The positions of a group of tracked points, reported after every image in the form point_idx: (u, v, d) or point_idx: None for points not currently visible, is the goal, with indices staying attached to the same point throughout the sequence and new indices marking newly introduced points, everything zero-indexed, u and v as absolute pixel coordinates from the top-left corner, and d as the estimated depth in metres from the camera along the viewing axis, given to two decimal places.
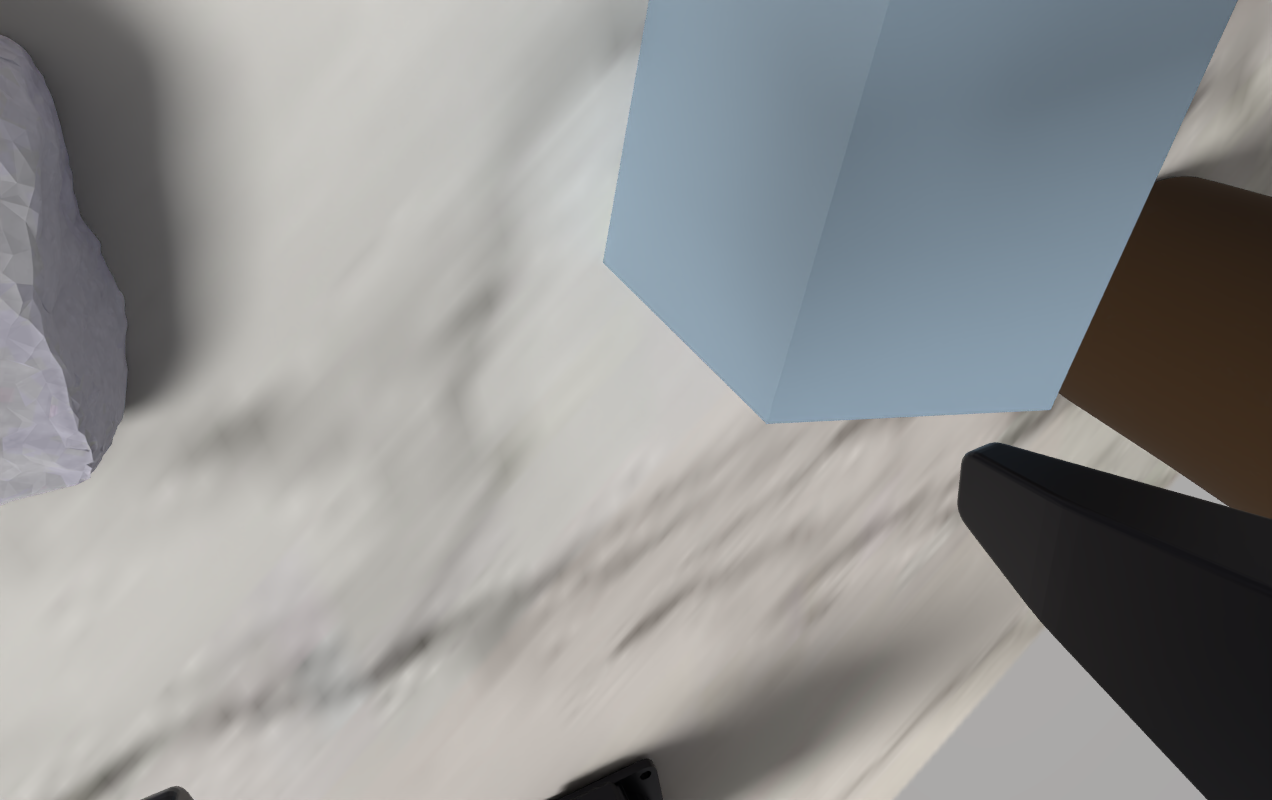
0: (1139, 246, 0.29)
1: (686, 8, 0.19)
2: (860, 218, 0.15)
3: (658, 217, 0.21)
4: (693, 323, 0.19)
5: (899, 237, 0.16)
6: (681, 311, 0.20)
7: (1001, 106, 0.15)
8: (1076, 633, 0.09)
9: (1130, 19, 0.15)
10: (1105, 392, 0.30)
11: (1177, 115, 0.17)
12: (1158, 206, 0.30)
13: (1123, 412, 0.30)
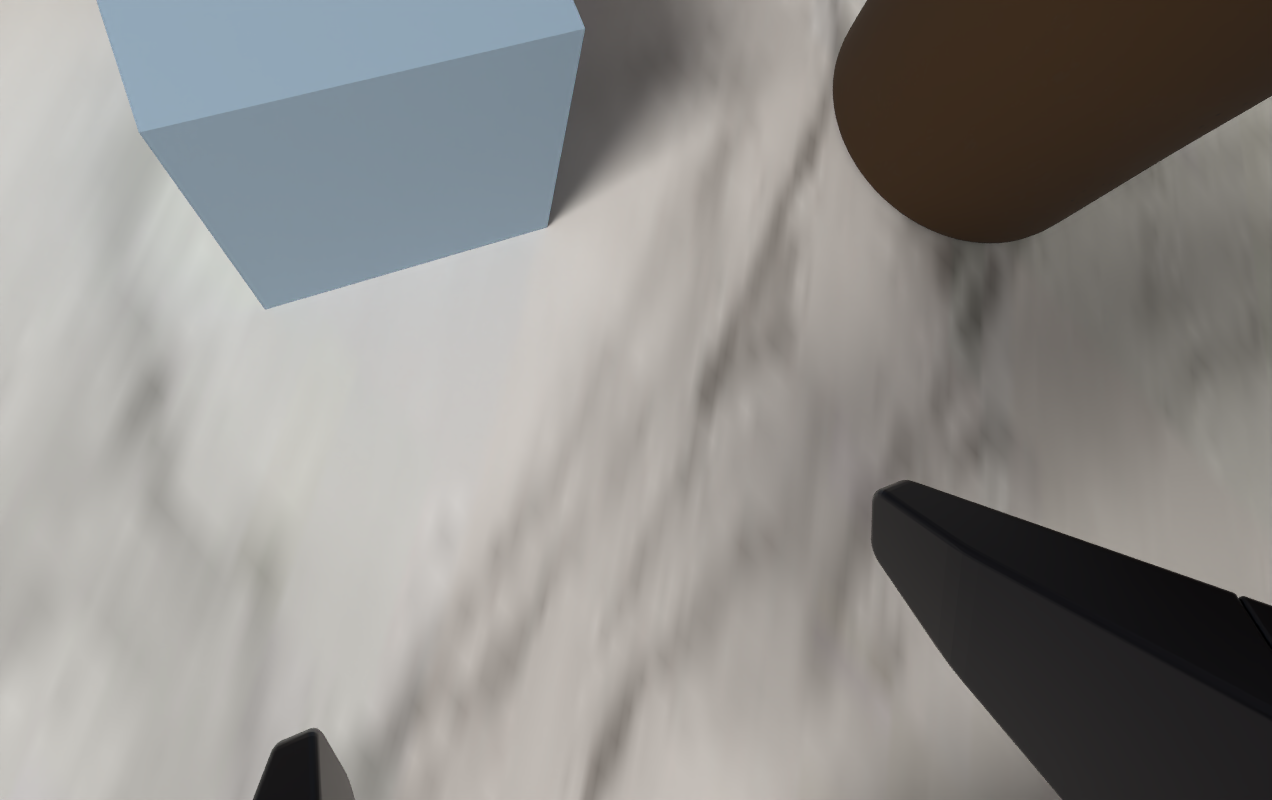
0: (857, 35, 0.26)
1: None
2: None
3: None
4: None
5: None
6: None
7: None
8: (982, 680, 0.09)
9: None
10: (947, 160, 0.24)
11: None
12: None
13: (977, 156, 0.23)
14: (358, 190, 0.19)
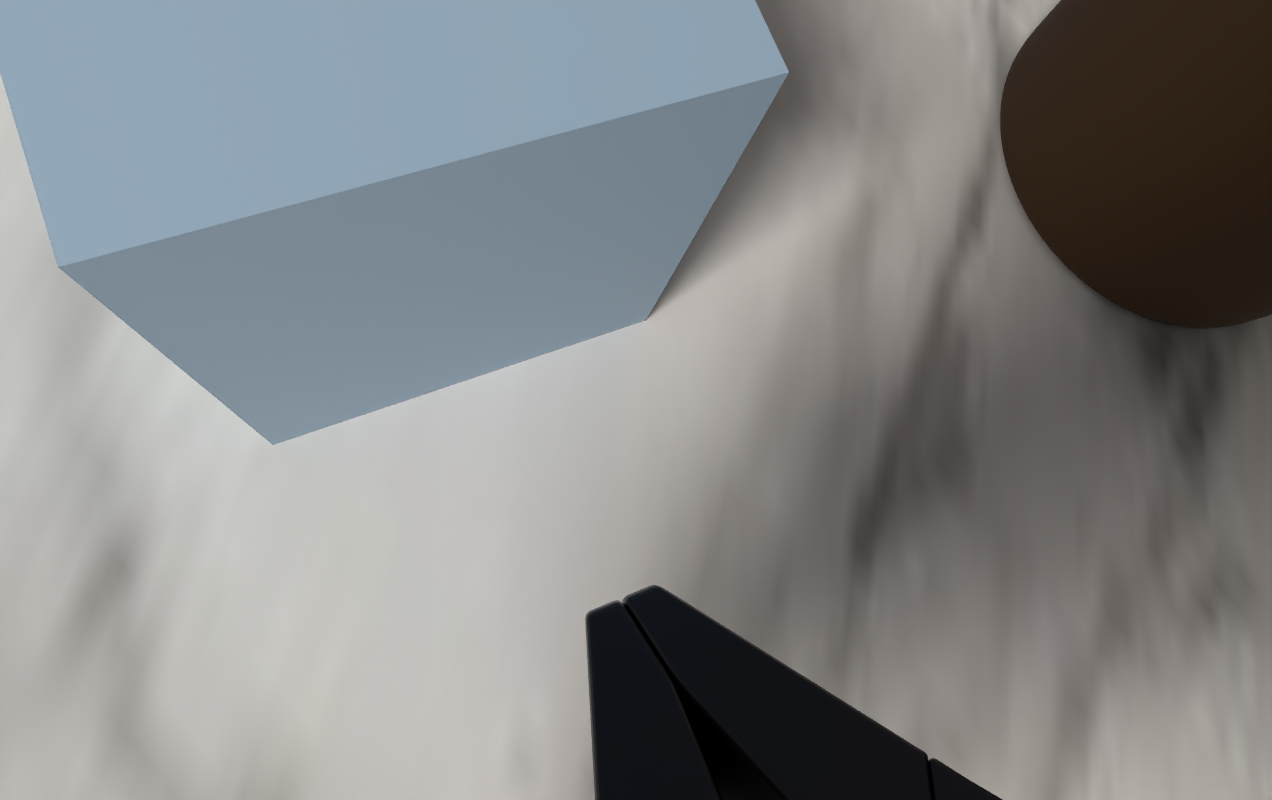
0: (1047, 63, 0.20)
1: None
2: None
3: None
4: None
5: None
6: None
7: None
8: None
9: None
10: (1192, 231, 0.18)
11: None
12: (1042, 26, 0.21)
13: (1243, 229, 0.17)
14: (413, 307, 0.13)
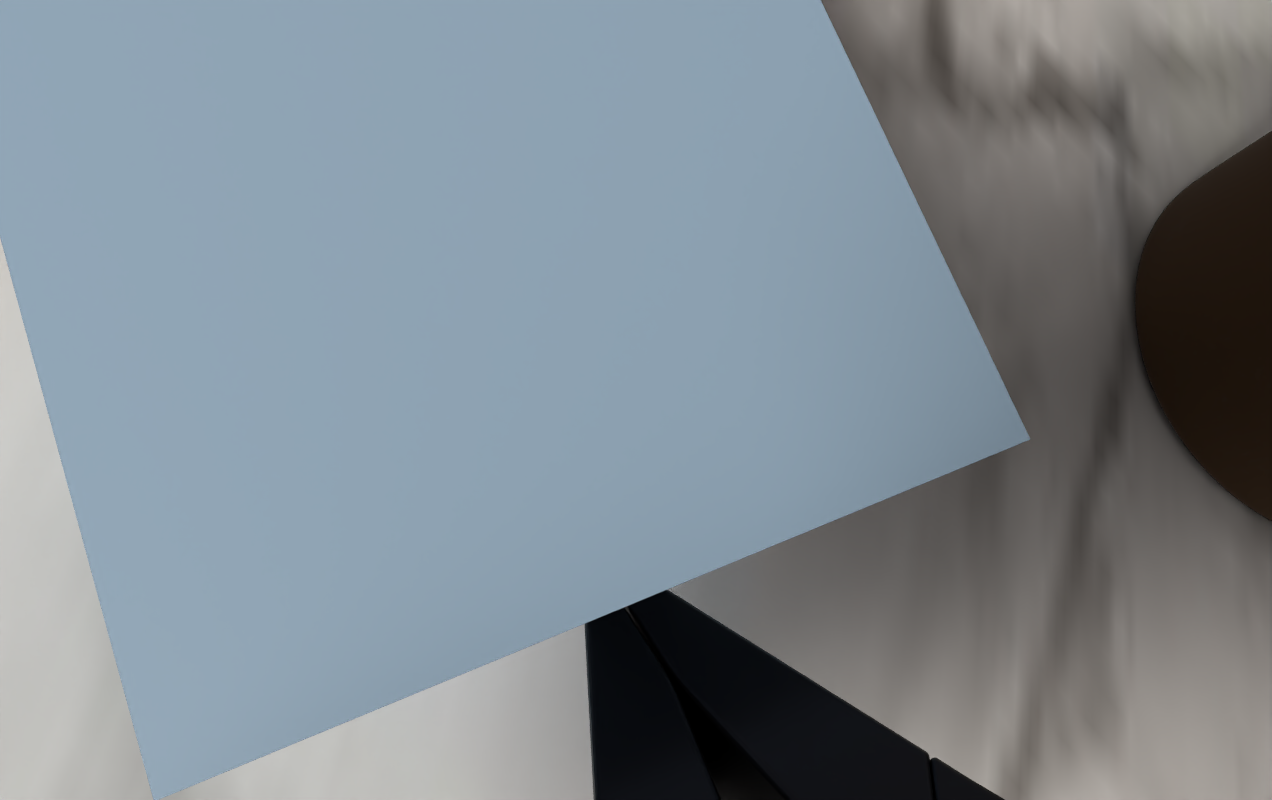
0: (1201, 267, 0.18)
1: None
2: (111, 263, 0.07)
3: None
4: None
5: (247, 261, 0.07)
6: None
7: None
8: None
9: None
10: None
11: None
12: (1186, 215, 0.19)
13: None
14: None
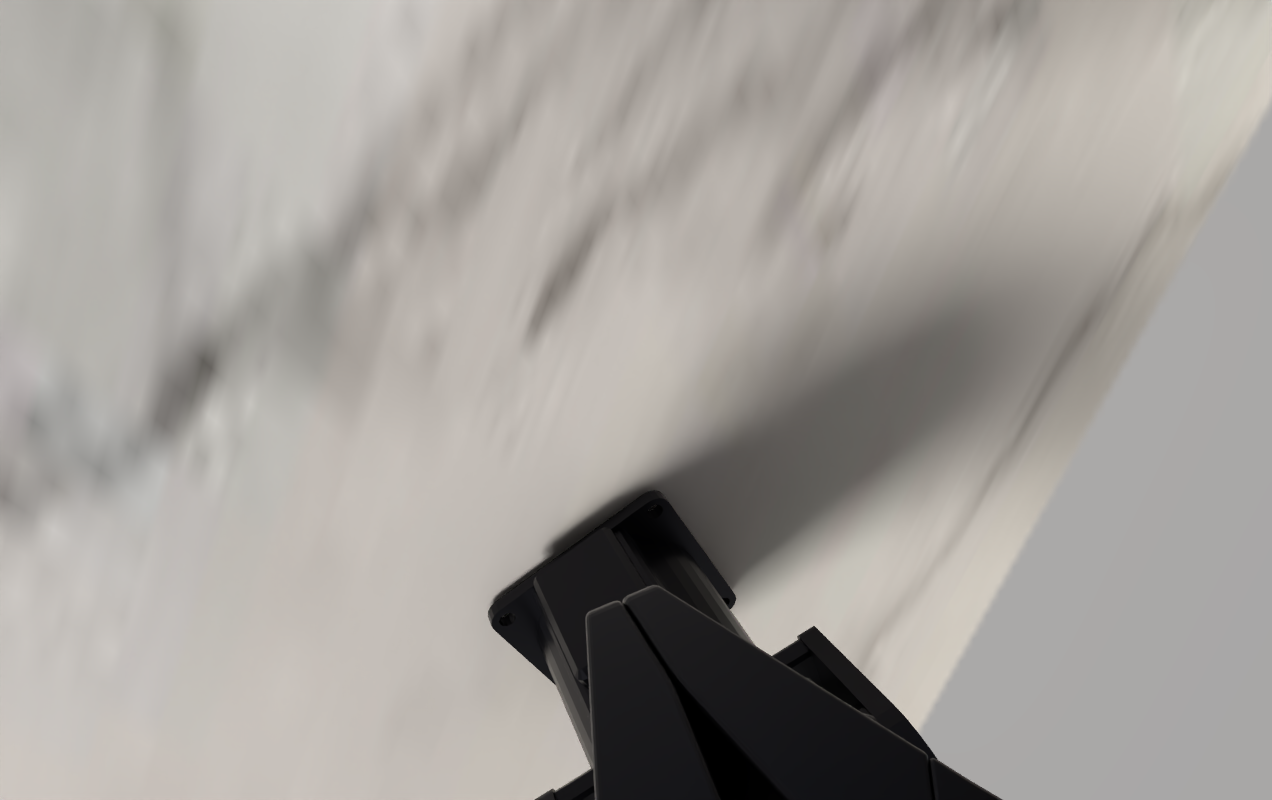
0: None
1: None
2: None
3: None
4: None
5: None
6: None
7: None
8: None
9: None
10: None
11: None
12: None
13: None
14: None
